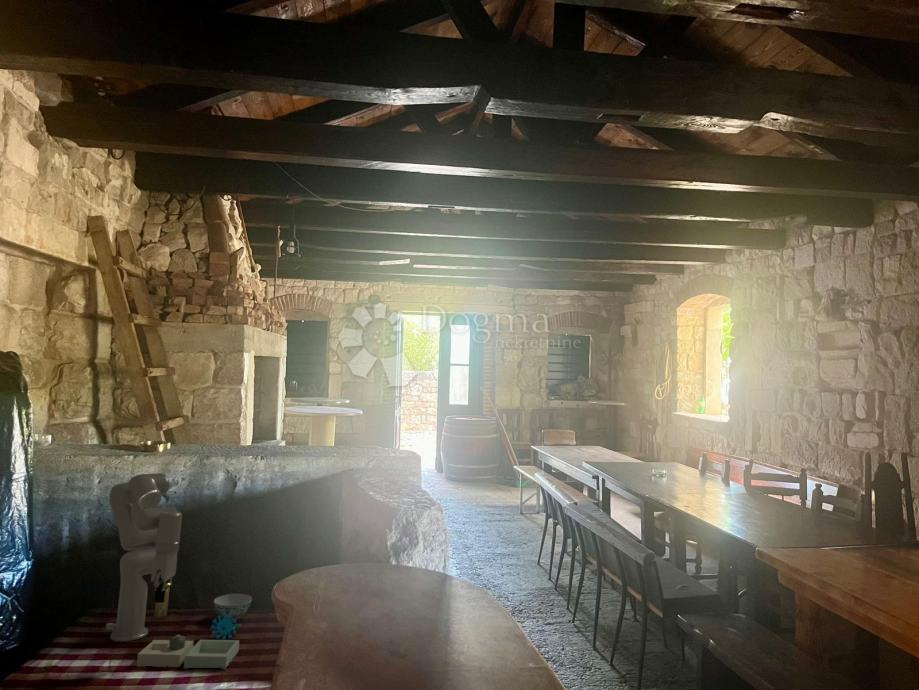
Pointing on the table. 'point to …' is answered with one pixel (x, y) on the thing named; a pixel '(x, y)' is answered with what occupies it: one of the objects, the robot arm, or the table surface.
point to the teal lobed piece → (225, 627)
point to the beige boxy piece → (165, 652)
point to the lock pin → (162, 607)
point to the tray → (211, 654)
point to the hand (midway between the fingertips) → (162, 599)
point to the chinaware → (232, 605)
